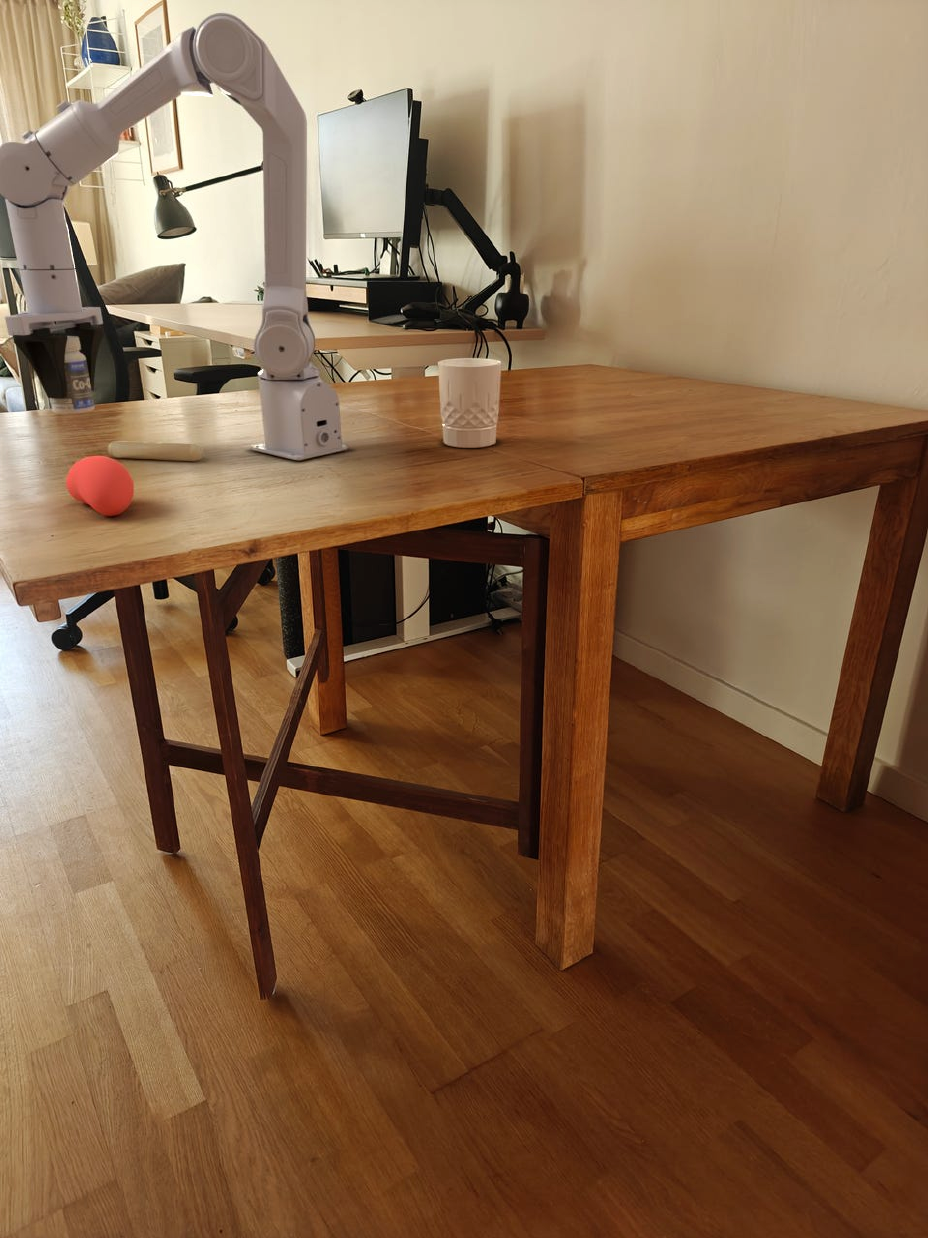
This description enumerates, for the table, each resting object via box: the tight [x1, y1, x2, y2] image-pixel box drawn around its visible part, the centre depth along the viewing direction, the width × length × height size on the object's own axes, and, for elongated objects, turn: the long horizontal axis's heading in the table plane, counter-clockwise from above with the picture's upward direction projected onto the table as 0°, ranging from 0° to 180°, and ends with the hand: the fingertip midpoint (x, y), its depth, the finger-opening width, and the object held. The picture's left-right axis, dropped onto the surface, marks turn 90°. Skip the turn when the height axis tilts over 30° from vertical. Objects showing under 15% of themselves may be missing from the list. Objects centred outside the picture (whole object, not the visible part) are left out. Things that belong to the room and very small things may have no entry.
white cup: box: [437, 357, 502, 449], centre depth 105 cm, size 8×8×10 cm
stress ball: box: [65, 455, 135, 517], centre depth 80 cm, size 5×9×6 cm
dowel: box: [107, 440, 204, 462], centre depth 99 cm, size 12×2×2 cm, turn 79°
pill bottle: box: [48, 336, 96, 415], centre depth 98 cm, size 5×5×8 cm
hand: (71, 393), depth 99 cm, fingers closed on pill bottle, 5 cm apart
